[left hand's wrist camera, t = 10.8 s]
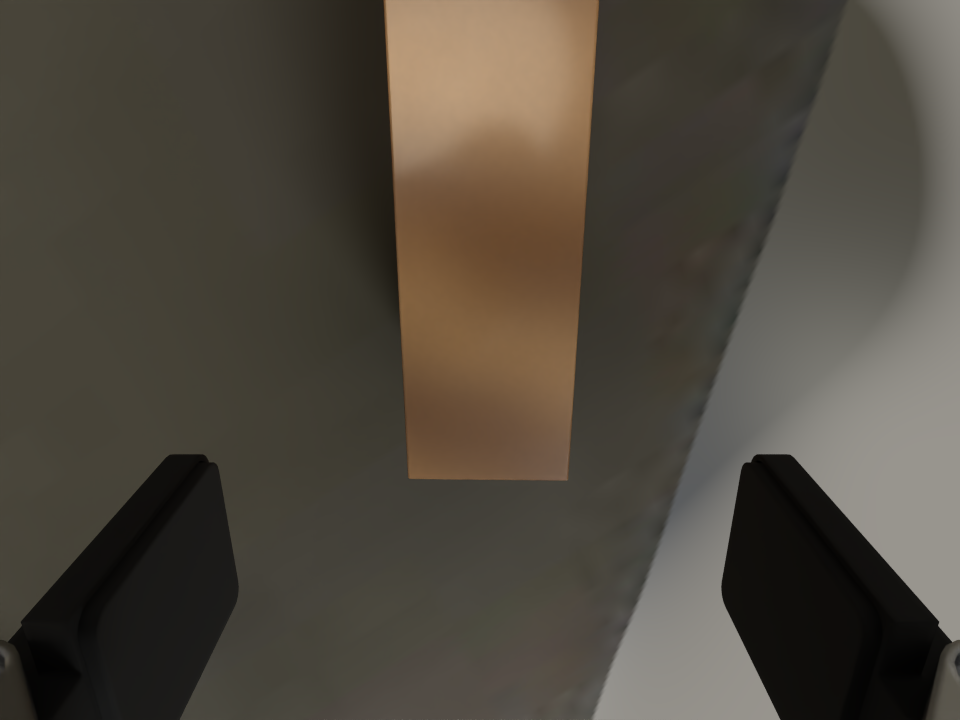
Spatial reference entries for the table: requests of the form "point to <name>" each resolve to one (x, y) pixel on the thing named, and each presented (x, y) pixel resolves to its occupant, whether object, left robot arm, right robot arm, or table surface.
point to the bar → (489, 227)
